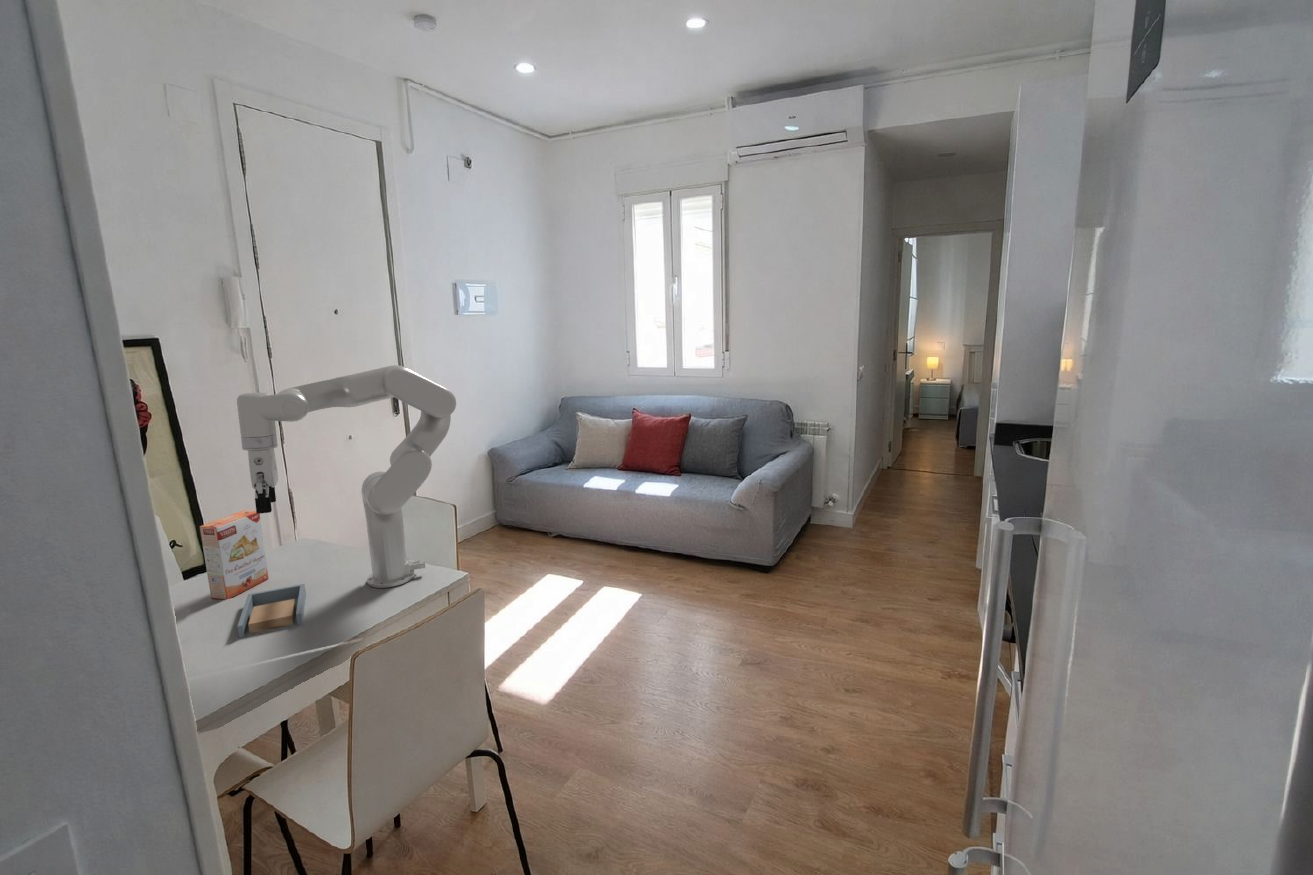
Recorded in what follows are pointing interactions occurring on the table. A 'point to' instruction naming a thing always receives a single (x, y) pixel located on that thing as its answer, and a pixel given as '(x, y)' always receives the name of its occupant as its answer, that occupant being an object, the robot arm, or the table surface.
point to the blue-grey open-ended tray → (267, 598)
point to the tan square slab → (272, 616)
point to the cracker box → (234, 554)
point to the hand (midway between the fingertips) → (266, 507)
